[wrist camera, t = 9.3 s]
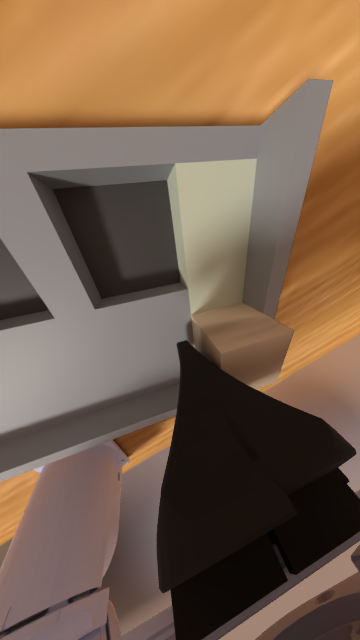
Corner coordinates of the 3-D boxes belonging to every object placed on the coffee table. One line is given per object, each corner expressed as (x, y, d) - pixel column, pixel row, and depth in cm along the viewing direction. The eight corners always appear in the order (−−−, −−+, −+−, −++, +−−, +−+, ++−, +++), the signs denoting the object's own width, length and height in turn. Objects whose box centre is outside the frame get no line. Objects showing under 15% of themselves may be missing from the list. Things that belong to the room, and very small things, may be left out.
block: (237, 343, 12) (276, 381, 9) (195, 356, 12) (219, 403, 8) (242, 302, 10) (294, 330, 7) (190, 315, 10) (221, 353, 6)
